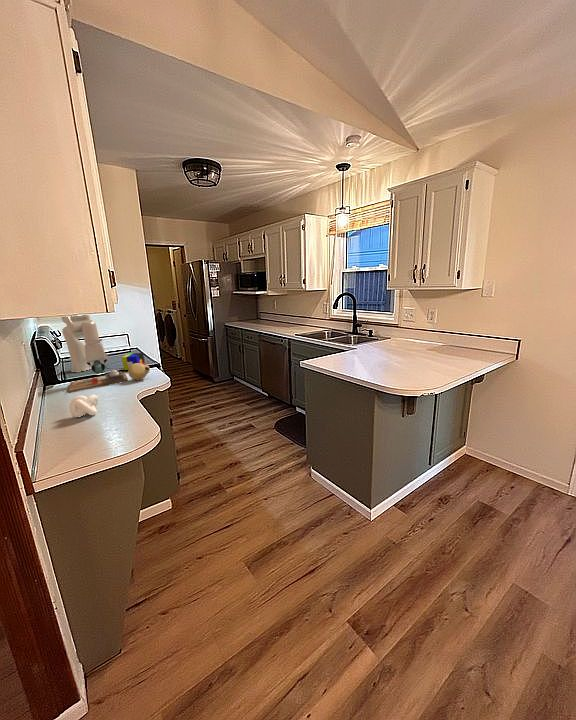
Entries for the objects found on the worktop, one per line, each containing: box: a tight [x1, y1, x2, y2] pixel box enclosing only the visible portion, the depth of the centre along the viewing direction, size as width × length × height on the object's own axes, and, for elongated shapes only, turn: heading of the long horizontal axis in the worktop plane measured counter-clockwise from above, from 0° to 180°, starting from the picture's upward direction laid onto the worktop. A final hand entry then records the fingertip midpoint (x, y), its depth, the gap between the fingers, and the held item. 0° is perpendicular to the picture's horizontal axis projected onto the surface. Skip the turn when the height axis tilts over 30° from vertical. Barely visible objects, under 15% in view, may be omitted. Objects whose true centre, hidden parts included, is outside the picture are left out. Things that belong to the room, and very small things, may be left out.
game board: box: [68, 370, 129, 394], centre depth 194 cm, size 18×30×5 cm, turn 121°
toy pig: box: [127, 363, 151, 381], centre depth 195 cm, size 10×12×11 cm
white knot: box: [69, 394, 99, 418], centre depth 148 cm, size 11×12×9 cm
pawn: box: [93, 360, 104, 374], centre depth 196 cm, size 4×4×8 cm
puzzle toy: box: [121, 352, 146, 371], centre depth 219 cm, size 10×10×10 cm
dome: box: [108, 369, 120, 377], centre depth 194 cm, size 6×6×4 cm
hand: (99, 370), depth 196 cm, fingers closed on pawn, 4 cm apart
